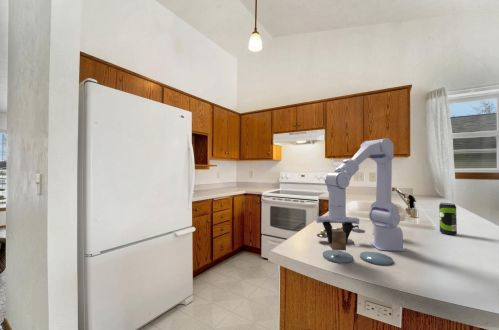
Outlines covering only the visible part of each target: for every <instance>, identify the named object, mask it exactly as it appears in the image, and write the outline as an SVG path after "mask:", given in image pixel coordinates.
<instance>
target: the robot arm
mask: <svg viewBox="0 0 499 330" xmlns="http://www.w3.org/2000/svg"><path fill="white" fill-rule="evenodd" d="M359 146H360V148H359V149H358V150H357V152H355V154H354V155H353V156H352V157H351V158H348V159H343V160H342V163H341V164H340V165H339V166H338V167H336V168H335V170H334V171H331V172H329V173H328V174H327V175H326V177H325V179H324V183H325V185H326V187H327V188H326V190H327V192H328V215H326V216H325V215H324V216H323V215H321V216H318V215H317V216H315V217H316V218H315V222H316V223H317V224H320V223H322V226H323V228H324V230H325V231H326V234H327V237H328V238H327V242H328V245H329V244H332V229H333V226H332V224H341V225H342V226H341V227H342V228H343V229H342V230H343V231H344V232H345V233H346V245H348V244H347V240H348V239H349V236H350V235H351V232H353V231H352V229H354V228H353V226H354V224H356V225H360V218H358V217H351V216H347V212H346V211H347V209H346V207H347V206H346V205H347V204H346V203H347V202H346V201H347V200H346V191H347V190H346V188H347V187H349V186H350V181H351V180H352V177H353V176H354V175H355V174H356V173H358V171H359V169H360V167H359V166H360V164H361V163H363V162H364V161H366V159H368V158H369V159H370V160H372V161H374V163H376V191H375V193H376V194H375V195H376V196H375V198H376V199H375V201H374V202H372V203H370V210H369V213H368V217H369V221H371V222H372V225H373V224H374V234H373V236H374V237H373V239H374V241H372V242H370V245H371V246H373V247H374V248H376V249H377V250H378V251H392V252H393V251H397V252H405V249H404V234H403V230H402V228H401V226H399V224H400V223H401V215H400V212H399V210H400V209H399V207H398V205H396V204H395V203H394V202H392V188H393V187H392V184H393V183H392V180H393V179H392V176H393V174H392V173H393V159H394V154H395V153H394V152H395V151H394V143H393V142H392V141H391V139H390V138H388V137H384V138H380V139H371V140H364V141H363V142H362V143H361V144H360V145H359ZM381 208H385V209H381ZM387 209H388V210H387Z"/></svg>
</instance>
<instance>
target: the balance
mask: <svg viewBox="0 0 499 330" xmlns="http://www.w3.org/2000/svg"><path fill="white" fill-rule="evenodd" d="M332 229H336V230H343V228H342V226H338V227H335V228H333V227H332ZM351 232H353V233H357V234H365V233H366V230H365V229H361V228H359V224H356V225H353V229H352V231H351ZM316 236H317V237H318V238H322V239H328V237H327V233H326V231H325V229H321V230H320V231H319V233H317V234H316ZM346 245H355V241H354V240H353V239H350V238H348V240H347V244H346Z"/></svg>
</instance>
